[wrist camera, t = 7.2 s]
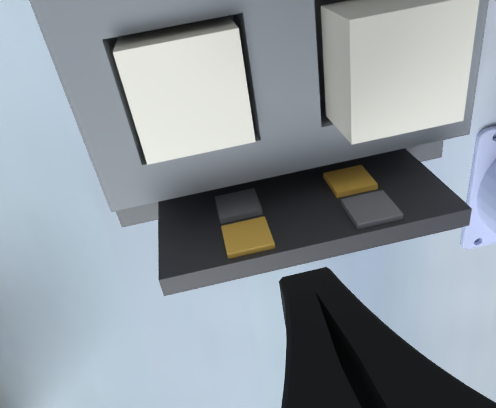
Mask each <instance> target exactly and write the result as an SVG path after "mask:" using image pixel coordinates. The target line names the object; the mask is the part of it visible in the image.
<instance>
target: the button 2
mask: <svg viewBox="0 0 496 408" xmlns="http://www.w3.org/2000/svg"><path fill="white" fill-rule="evenodd" d="M478 7H479V0H348V1H343V2H338V3H332V4H327V5H322V6H321V24H322V44H323V63H324V83H325V103H326V116H327V117H328V119H329V120H330V121H331V122H332V123H333V124H334V125H335V126H336V128H337V129H338V130H339V131H340V132H341V133H342V134H343V135H344V137H345V138H346V139H347V140H348V141H349V142H350V143H351V145H353V144H357V143H362V142H367V141H371V140H376V139H381V138H385V137H390V136H395V135H399V134H404V133H409V132H413V131H418V130H423V129H427V128H432V127H437V126H441V125H446V124H451V123H455V122H460V121H463V120H464V112H465V105H466V97H467V90H468V82H469V75H470V67H471V60H472V52H473V45H474V37H475V30H476V22H477V15H478Z"/></svg>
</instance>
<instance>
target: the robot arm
mask: <svg viewBox="0 0 496 408" xmlns="http://www.w3.org/2000/svg"><path fill="white" fill-rule="evenodd" d="M495 133H496V126H492V127H487V128H484V129H482V130H481V131H480V132H479V133H478V135H477V137H476V142H475V149H474V155H473V162H472V168H471V175H470V181H469V188H468V194H467V200H466V204H467V205H468V206H470V207H471V208H472V212H471V218H470V224H469V226H465V227H462V233H461V239H460V245H461V246H462V247H463V249H466V250H467V249H472V248H477V247H481V246H485V245H489V244H494V243H496V138H495V139H493V136H494V134H495ZM478 238H479V240H478V241H477V242H475V240H476V239H478ZM279 284H280V291H281V298H282V305H283V312H284V319H285V326H286V335H287V347H286V367H285V380H284V390H283V399H282V407H281V408H496V403H495V402H494V401H492V400H490V399H488V398H487V397H485V396H483V395H482V394H480V393H478V392H477V391H475V390H473V389H472V388H470V387H469V386H467V385H465V384H464V383H462V382H461V381H459V380H458V379H456V378H455V377H453V376H452V375H450V374H449V373H447V372H446V371H444V370H443V369H442V368H440V367H439V366H437V365H436V364H435V363H433V362H432V361H430V360H429V359H428V358H426V357H425V356H424V355H422V354H421V353H420V352H418V351H417V350H416V349H415V348H413V347H412V346H411V345H409V344H408V343H407V342H406V341H405V340H403V339H402V338H401V337H400V336H398V335H397V334H396V333H395V332H394V331H392V330H391V329H390V328H389V327H388V326H387V325H385V324H384V323H383V322H382V321H381V320H380V319H379V318H378V317H377V316H376V315H374V314H373V313H372V312H371V311H370V310H369V309H368V308H367V307H366V306H365V305H364V304H363V303H362V302H361V301H360V300H359V299H358V298H357V297H356V296H355V295H354V294H353V293H352V292H351V291H350V290H349V289H348V288H347V287H346V286H345V285H344V284H343V283H342V282H341V281H340V280H339V279H338V278H337V277H336V275H335V274H334V273H333V272H332V271H331V270H330V269H329V268H327V267H324V268H320V269H316V270H312V271H307V272H303V273H299V274H294V275H290V276H286V277H282V279H281V280H280V281H279Z"/></svg>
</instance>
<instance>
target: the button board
mask: <svg viewBox="0 0 496 408" xmlns="http://www.w3.org/2000/svg"><path fill="white" fill-rule="evenodd" d="M29 1H30V3H31V6H32V8H33V11H34V14H35V16H36V19H37V21H38V24H39V27H40V29H41V32H42V34H43V37H44V39H45V42H46V45H47V47H48V50H49V52H50V55H51V58H52V60H53V63H54V65H55V68H56V71H57V73H58V76H59V78H60V81H61V83H62V86H63V89H64V91H65V94H66V96H67V99H68V102H69V104H70V107H71V109H72V112H73V114H74V117H75V120H76V122H77V125H78V127H79V130H80V133H81V135H82V138H83V140H84V143H85V146H86V148H87V151H88V153H89V156H90V158H91V161H92V164H93V166H94V169H95V171H96V174H97V177H98V179H99V182H100V184H101V187H102V189H103V192H104V195H105V197H106V200H107V202H108V205H109V208H110V210H111V212H113V211H116V213H117V216H118V218H119V221H120V223H121V226H122V227H126V226H131V225H135V224H140V223H144V222H149V221H153V220H158V238H159V282H160V285H161V288H162V291H163V294H164V296H166V295H171V294H175V293H179V292H184V291H188V290H192V289H197V288H201V287H205V286H210V285H214V284H218V283H223V282H227V281H231V280H236V279H240V278H244V277H249V276H253V275H257V274H262V273H266V272H270V271H275V270H279V269H283V268H288V267H292V266H296V265H300V264H305V263H309V262H313V261H318V260H322V259H326V258H331V257H335V256H339V255H344V254H348V253H352V252H357V251H361V250H365V249H370V248H374V247H378V246H383V245H387V244H391V243H396V242H400V241H404V240H409V239H413V238H417V237H422V236H426V235H430V234H435V233H439V232H443V231H448V230H452V229H456V228H460V227H465V226H469V224H470V218H471V212H472V208H471V207H470V206H468V205H467V204H466V203H465V202H464V201H463V200H462V199H461V198H460V197H459V196H457V195H456V194H455V193H454V192H453V191H452V190H451V189H450V188H449V187H447V186H446V185H445V184H444V183H443V182H442V181H441V180H440V179H439V178H437V177H436V176H435V175H434V174H433V173H432V172H431V171H430V170H429V169H427V168H426V167H425V166H424V165H423V164H422V163H421V162H422V161H427V160H431V159H436V158H440V157H442V148H443V140H445V139H450V138H454V137H459V136H464V135H468V134H469V133H470V127H471V120H472V113H473V106H474V99H475V92H476V85H477V78H478V71H479V64H480V57H481V50H482V43H483V36H484V30H485V23H486V16H487V9H488V2H489V0H479V7H478V15H477V22H476V30H475V37H474V45H473V52H472V60H471V67H470V75H469V82H468V90H467V97H466V105H465V112H464V120H463V121H460V122H455V123H451V124H446V125H441V126H437V127H432V128H427V129H423V130H418V131H413V132H409V133H404V134H399V135H395V136H390V137H385V138H381V139H376V140H371V141H367V142H362V143H357V144H353V145H351V143H350V142H349V141H348V140H347V139H346V138H345V137H344V135H343V134H342V133H341V132H340V131H339V130H338V129H337V128H336V126H335V125H334V124H333V123H332V122H331V121H330V120H329V119H328V117H327V116H326V103H325V83H324V63H323V44H322V24H321V6H322V5H327V4H332V3H338V2H343V1H348V0H29ZM228 15H229V17H230V18H231V19H232V20H233V22H234V23H235V24H236V25H237V27H238V28H239V34H240V41H241V48H242V54H243V61H244V68H245V74H246V81H247V88H248V94H249V101H250V108H251V114H252V121H253V128H254V134H255V141H256V142H253V143H248V144H244V145H239V146H234V147H230V148H225V149H220V150H215V151H211V152H206V153H201V154H196V155H192V156H187V157H182V158H177V159H173V160H168V161H163V162H158V163H154V164H149V165H147V162H146V159H145V155H144V152H143V149H142V146H141V142H140V139H139V136H138V133H137V130H136V126H135V123H134V120H133V117H132V113H131V110H130V107H129V104H128V100H127V97H126V94H125V91H124V87H123V84H122V81H121V78H120V75H119V71H118V68H117V65H116V62H115V58H114V55H113V50H114V47H115V44H116V41H117V38H118V36H124V35H129V34H134V33H139V32H145V31H150V30H155V29H160V28H165V27H171V26H176V25H181V24H186V23H192V22H197V21H202V20H207V19H213V18H218V17H223V16H228Z"/></svg>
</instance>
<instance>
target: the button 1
mask: <svg viewBox="0 0 496 408" xmlns="http://www.w3.org/2000/svg"><path fill="white" fill-rule="evenodd" d="M113 55H114V58H115V62H116V65H117V68H118V71H119V75H120V78H121V81H122V84H123V87H124V91H125V94H126V97H127V100H128V104H129V107H130V110H131V113H132V117H133V120H134V123H135V126H136V130H137V133H138V136H139V139H140V142H141V146H142V149H143V152H144V155H145V159H146V162H147V165H149V164H154V163H158V162H163V161H168V160H173V159H177V158H182V157H187V156H192V155H196V154H201V153H206V152H211V151H215V150H220V149H225V148H230V147H234V146H239V145H244V144H248V143H253V142H256V141H255V134H254V128H253V121H252V114H251V108H250V101H249V94H248V88H247V81H246V74H245V68H244V61H243V54H242V48H241V41H240V34H239V28H238V27H237V25H236V24H235V23H234V22H233V20H232V19H231V18H230V17H229V15H228V16H223V17H218V18H213V19H207V20H202V21H197V22H192V23H186V24H181V25H176V26H171V27H165V28H160V29H155V30H150V31H145V32H139V33H134V34H129V35H124V36H118V38H117V41H116V44H115V47H114V50H113Z"/></svg>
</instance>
